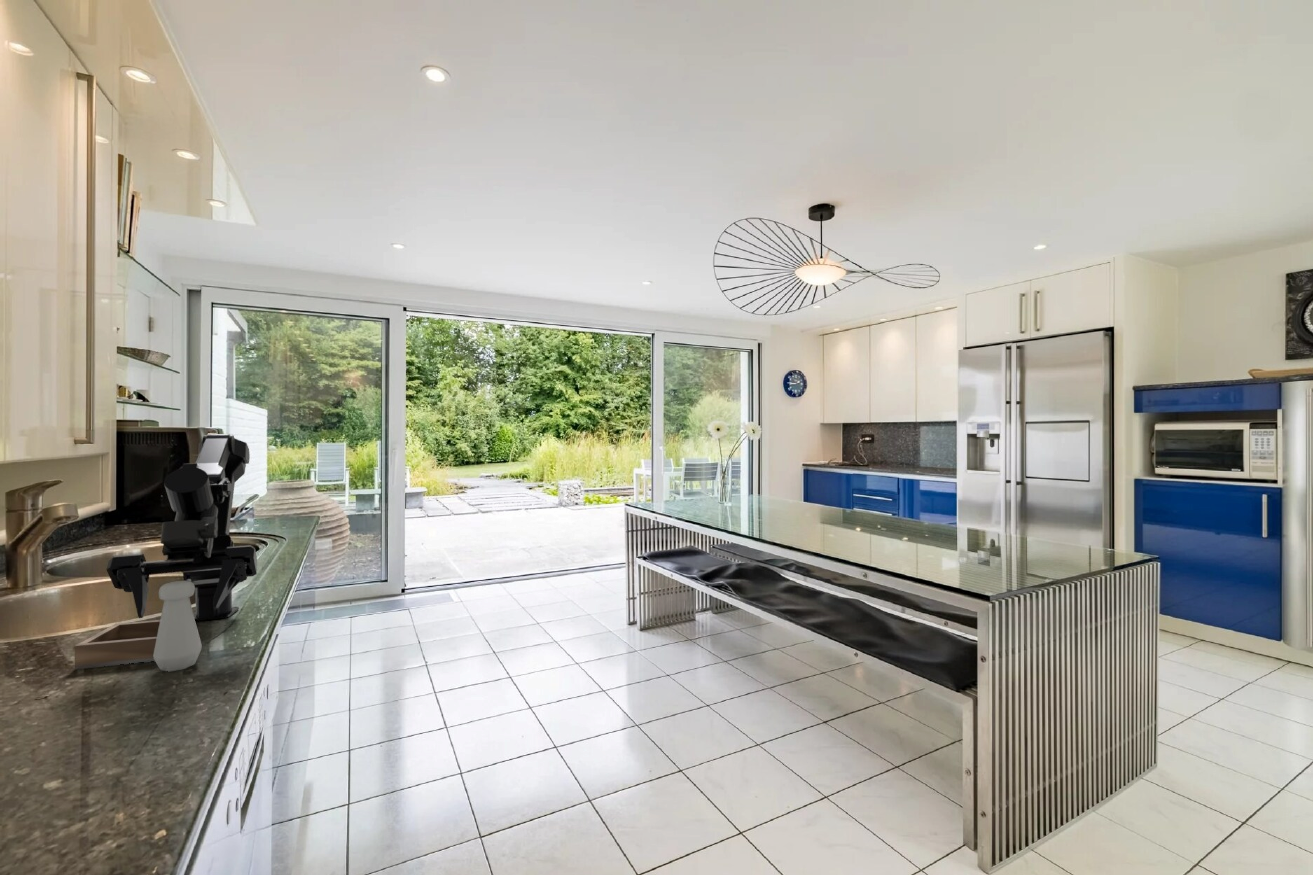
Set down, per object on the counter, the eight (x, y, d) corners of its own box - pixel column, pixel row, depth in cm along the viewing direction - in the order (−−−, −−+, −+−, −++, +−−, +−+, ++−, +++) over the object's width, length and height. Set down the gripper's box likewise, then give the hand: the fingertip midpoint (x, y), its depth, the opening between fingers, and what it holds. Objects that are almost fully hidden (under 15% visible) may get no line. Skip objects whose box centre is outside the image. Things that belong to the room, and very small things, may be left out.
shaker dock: (115, 644, 100) (115, 623, 100) (192, 637, 103) (192, 617, 103) (74, 669, 90) (74, 645, 90) (162, 660, 93) (161, 637, 93)
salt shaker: (211, 659, 93) (210, 578, 93) (178, 674, 88) (177, 587, 87) (177, 658, 94) (176, 577, 94) (143, 673, 88) (141, 586, 88)
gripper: (110, 504, 91) (82, 591, 82) (254, 497, 100) (245, 575, 90) (127, 546, 98) (103, 631, 89) (260, 537, 107) (253, 613, 97)
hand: (178, 612), depth 91 cm, fingers open, 9 cm apart
